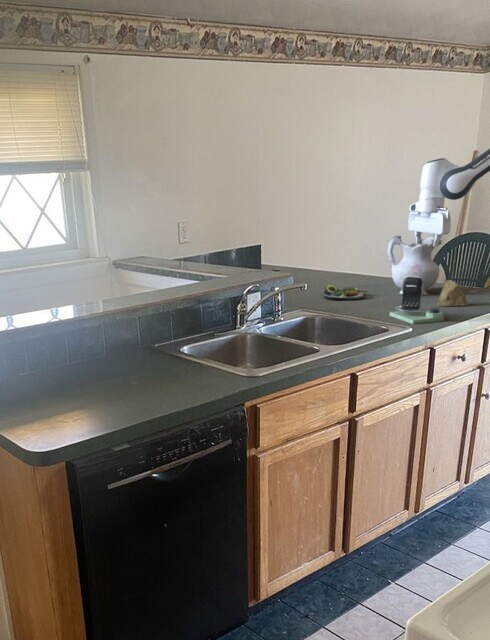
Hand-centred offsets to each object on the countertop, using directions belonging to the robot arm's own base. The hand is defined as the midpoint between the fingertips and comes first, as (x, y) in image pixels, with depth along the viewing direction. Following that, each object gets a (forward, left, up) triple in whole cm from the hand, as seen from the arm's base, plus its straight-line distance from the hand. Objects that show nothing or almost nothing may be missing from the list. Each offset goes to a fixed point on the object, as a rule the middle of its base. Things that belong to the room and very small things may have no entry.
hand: (426, 245), depth 245 cm
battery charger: (-6, +9, -22) cm, 24 cm away
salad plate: (+39, +12, -25) cm, 48 cm away
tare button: (-13, +3, -23) cm, 26 cm away
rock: (+4, -18, -25) cm, 31 cm away
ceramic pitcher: (+32, -18, -25) cm, 44 cm away
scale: (-8, +7, -25) cm, 28 cm away
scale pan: (-6, +9, -22) cm, 25 cm away
